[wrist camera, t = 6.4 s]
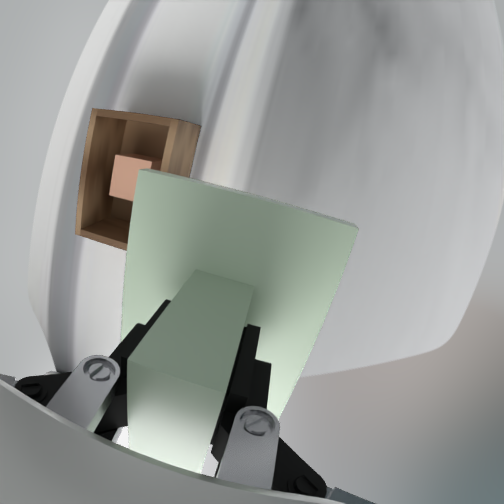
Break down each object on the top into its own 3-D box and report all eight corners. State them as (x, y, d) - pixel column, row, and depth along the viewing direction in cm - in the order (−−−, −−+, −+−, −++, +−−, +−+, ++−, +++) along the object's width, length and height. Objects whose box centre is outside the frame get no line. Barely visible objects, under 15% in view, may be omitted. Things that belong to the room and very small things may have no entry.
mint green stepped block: (273, 408, 17) (260, 527, 9) (134, 365, 17) (70, 463, 9) (348, 217, 13) (419, 303, 5) (158, 166, 13) (27, 191, 6)
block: (160, 197, 28) (144, 204, 25) (128, 189, 28) (109, 195, 25) (168, 160, 27) (151, 161, 24) (134, 153, 27) (115, 154, 24)
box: (177, 238, 30) (152, 258, 24) (108, 219, 30) (75, 234, 24) (201, 126, 26) (179, 119, 21) (126, 113, 27) (92, 108, 21)
